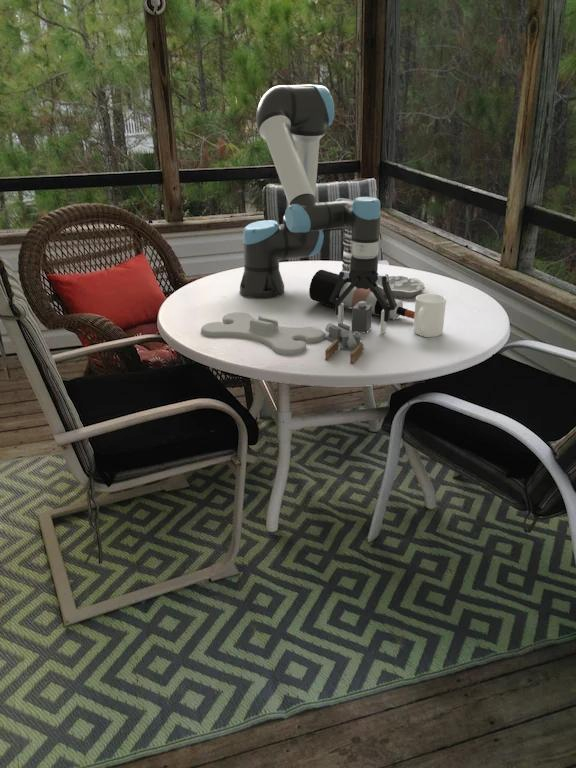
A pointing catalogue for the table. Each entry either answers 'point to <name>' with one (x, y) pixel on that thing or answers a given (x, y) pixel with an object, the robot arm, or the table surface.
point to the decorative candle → (347, 249)
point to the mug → (429, 315)
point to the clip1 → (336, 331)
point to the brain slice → (403, 286)
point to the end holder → (334, 348)
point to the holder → (264, 332)
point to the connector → (361, 317)
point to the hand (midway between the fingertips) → (361, 328)
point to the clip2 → (349, 341)
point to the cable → (350, 295)
